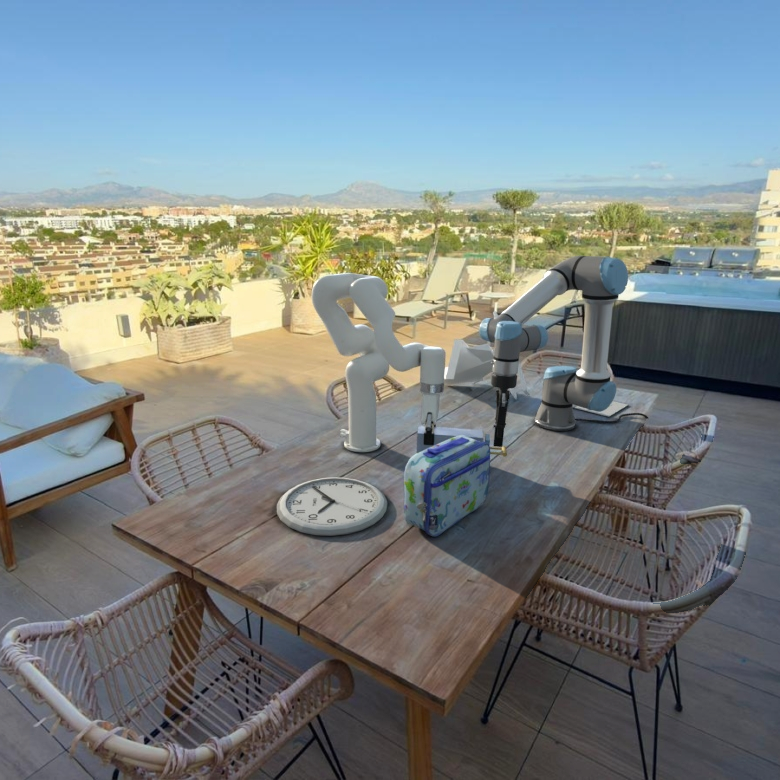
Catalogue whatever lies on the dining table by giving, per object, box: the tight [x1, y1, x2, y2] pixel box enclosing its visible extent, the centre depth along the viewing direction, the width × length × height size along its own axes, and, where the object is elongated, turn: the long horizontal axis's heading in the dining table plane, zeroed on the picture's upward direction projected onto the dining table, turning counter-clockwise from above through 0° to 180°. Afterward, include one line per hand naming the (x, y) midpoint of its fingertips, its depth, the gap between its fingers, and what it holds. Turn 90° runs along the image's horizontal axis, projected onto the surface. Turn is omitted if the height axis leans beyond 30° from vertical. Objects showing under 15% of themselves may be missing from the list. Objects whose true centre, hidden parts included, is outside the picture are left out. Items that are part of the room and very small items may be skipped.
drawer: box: [484, 433, 508, 458], centre depth 166 cm, size 25×5×10 cm, turn 82°
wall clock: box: [276, 476, 388, 537], centre depth 142 cm, size 30×2×30 cm
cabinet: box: [416, 425, 485, 454], centre depth 167 cm, size 20×7×11 cm, turn 82°
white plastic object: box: [444, 310, 531, 400], centre depth 245 cm, size 37×45×31 cm
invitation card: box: [573, 400, 629, 418], centre depth 226 cm, size 21×1×15 cm
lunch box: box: [403, 435, 491, 538], centre depth 134 cm, size 26×11×21 cm, turn 134°
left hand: (429, 439), depth 167 cm, fingers closed on cabinet, 6 cm apart
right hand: (497, 445), depth 164 cm, fingers closed
